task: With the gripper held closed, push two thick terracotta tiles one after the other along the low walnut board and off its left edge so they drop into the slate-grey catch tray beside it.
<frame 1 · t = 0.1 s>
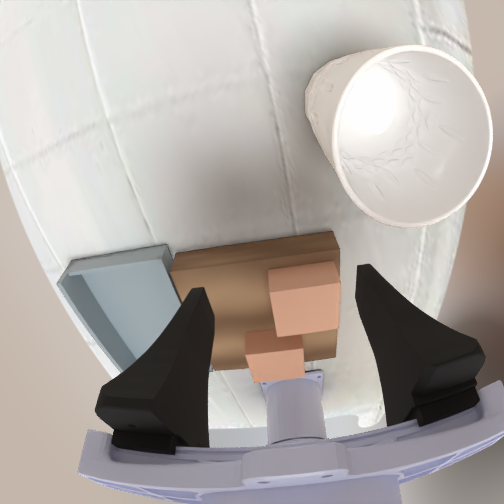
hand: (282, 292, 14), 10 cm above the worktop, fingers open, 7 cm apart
white cup: (351, 103, 18), on the worktop
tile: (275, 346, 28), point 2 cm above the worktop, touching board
tray: (146, 315, 30), on the worktop
board: (264, 303, 28), on the worktop
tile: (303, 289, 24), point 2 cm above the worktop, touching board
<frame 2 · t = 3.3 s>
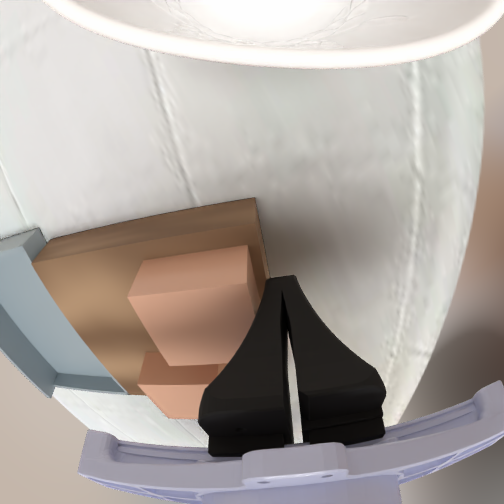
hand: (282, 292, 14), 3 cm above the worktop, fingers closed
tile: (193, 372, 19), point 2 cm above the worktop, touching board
tray: (46, 319, 20), on the worktop
board: (174, 312, 19), on the worktop
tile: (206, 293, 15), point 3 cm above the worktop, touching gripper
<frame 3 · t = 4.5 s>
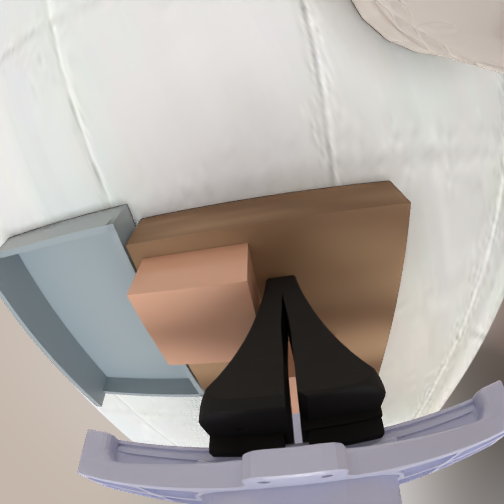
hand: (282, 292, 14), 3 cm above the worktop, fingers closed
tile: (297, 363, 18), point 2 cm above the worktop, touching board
tray: (109, 317, 20), on the worktop
board: (281, 300, 19), on the worktop
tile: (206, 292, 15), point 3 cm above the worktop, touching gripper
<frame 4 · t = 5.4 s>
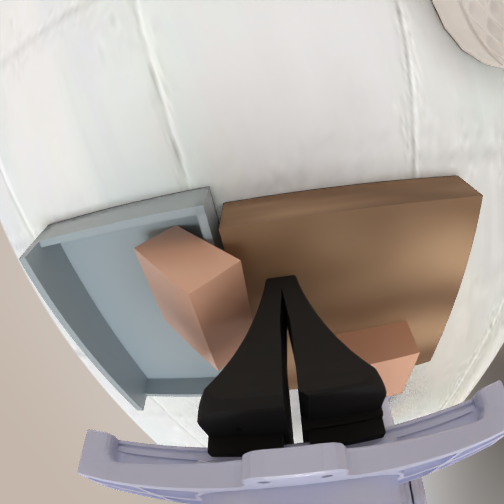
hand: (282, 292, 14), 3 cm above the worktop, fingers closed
white cup: (475, 8, 8), on the worktop
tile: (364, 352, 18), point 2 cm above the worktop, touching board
tray: (163, 313, 19), on the worktop
board: (352, 289, 18), on the worktop
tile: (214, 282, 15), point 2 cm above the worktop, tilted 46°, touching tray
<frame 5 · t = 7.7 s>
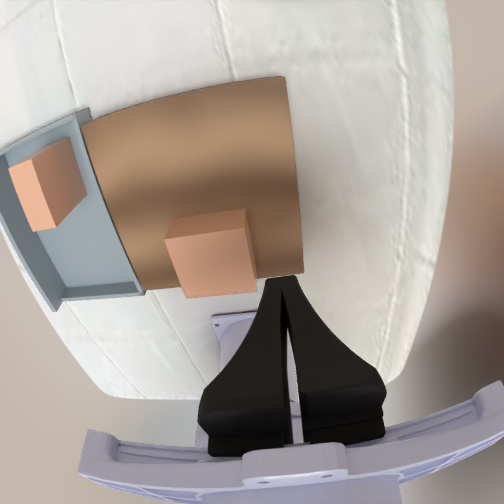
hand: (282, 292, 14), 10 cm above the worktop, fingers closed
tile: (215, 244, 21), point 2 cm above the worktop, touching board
tray: (69, 214, 22), on the worktop
board: (202, 186, 21), on the worktop
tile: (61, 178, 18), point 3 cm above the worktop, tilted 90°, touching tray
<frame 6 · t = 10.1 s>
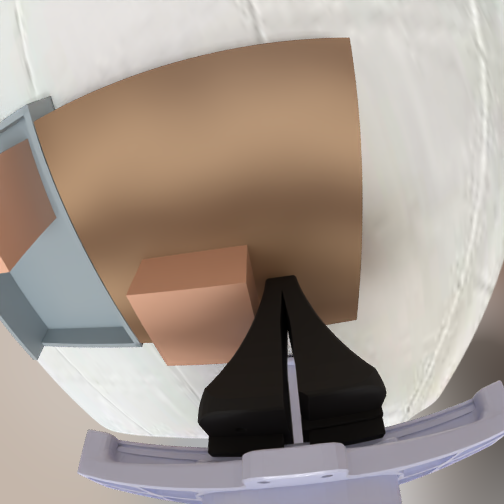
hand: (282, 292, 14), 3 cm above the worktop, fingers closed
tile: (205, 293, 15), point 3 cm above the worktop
tray: (39, 243, 16), on the worktop
board: (216, 204, 15), on the worktop
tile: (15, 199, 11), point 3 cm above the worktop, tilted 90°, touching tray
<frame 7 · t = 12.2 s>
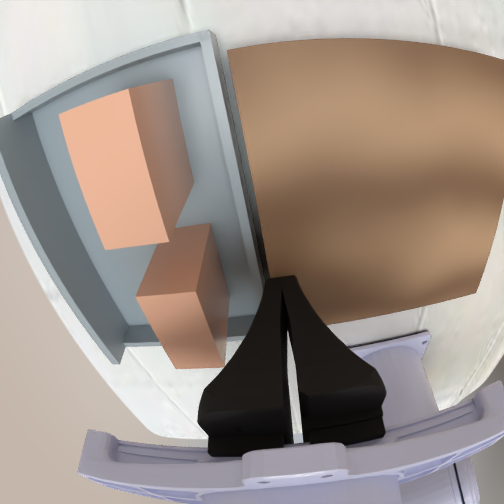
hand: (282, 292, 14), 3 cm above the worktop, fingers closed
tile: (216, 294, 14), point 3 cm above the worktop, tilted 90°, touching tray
tray: (149, 216, 15), on the worktop
board: (385, 181, 14), on the worktop
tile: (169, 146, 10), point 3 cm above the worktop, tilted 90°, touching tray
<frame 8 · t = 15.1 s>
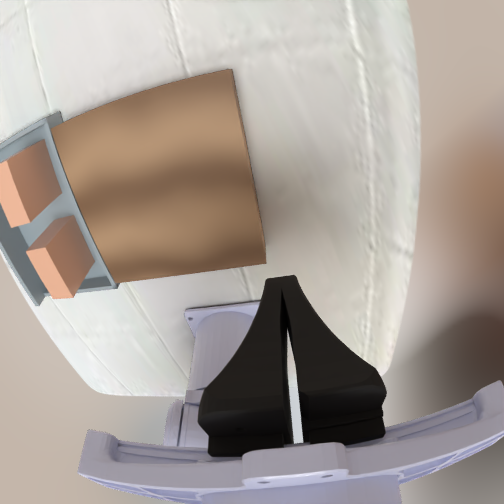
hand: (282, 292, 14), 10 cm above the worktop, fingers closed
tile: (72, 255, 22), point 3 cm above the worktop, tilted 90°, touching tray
tray: (48, 212, 23), on the worktop
board: (164, 180, 22), on the worktop
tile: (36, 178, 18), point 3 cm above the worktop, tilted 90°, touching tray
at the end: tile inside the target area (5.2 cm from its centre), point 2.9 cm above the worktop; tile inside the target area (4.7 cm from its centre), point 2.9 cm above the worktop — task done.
